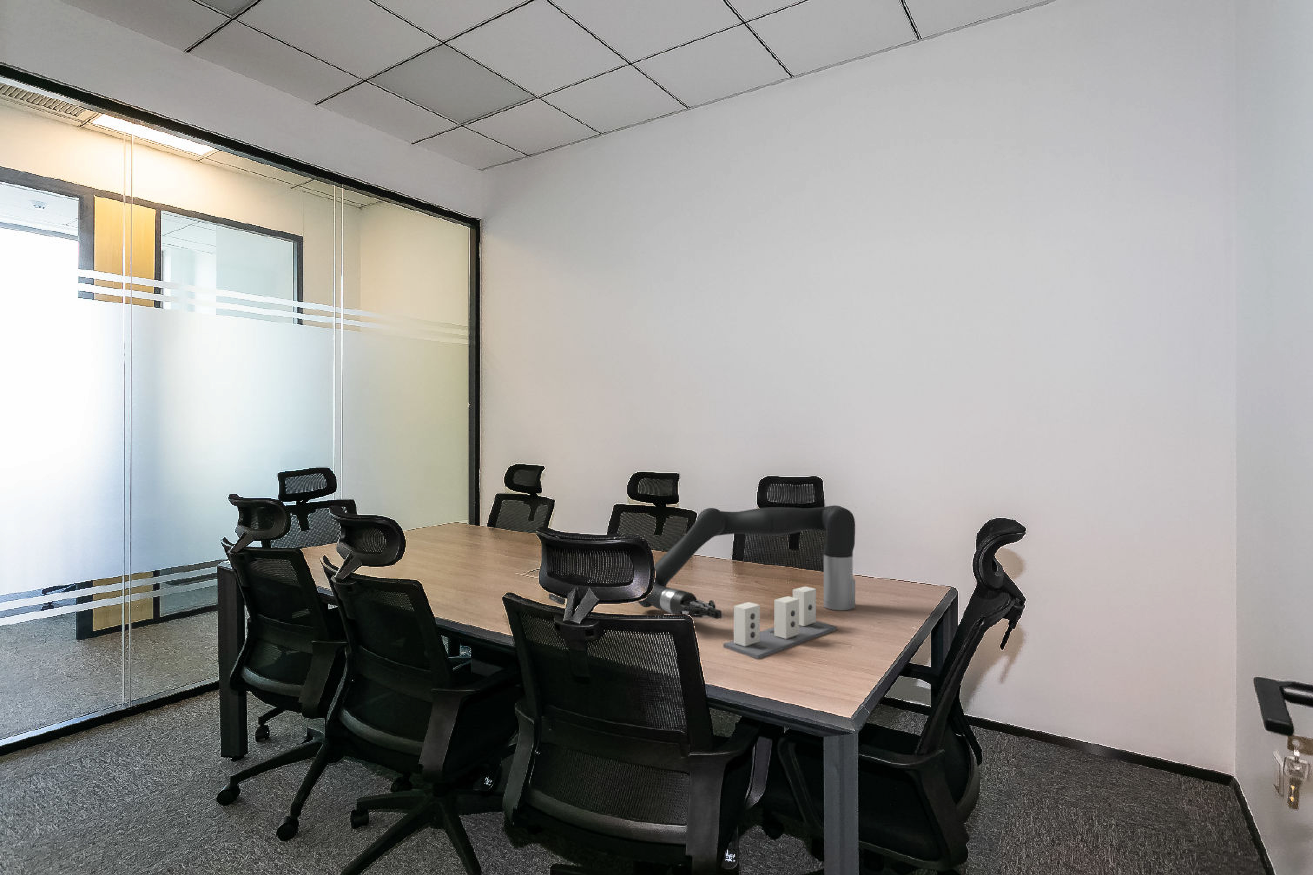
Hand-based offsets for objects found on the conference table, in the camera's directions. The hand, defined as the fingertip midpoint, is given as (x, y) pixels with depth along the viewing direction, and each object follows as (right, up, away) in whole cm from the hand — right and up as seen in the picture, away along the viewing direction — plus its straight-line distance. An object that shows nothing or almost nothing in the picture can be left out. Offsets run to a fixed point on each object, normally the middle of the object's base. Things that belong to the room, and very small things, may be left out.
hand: (719, 614), depth 185 cm
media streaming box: (-47, -6, +44) cm, 65 cm away
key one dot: (+26, -5, +10) cm, 28 cm away
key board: (+18, -6, 0) cm, 19 cm away
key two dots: (+19, -5, -1) cm, 19 cm away
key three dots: (+7, -5, -7) cm, 11 cm away
